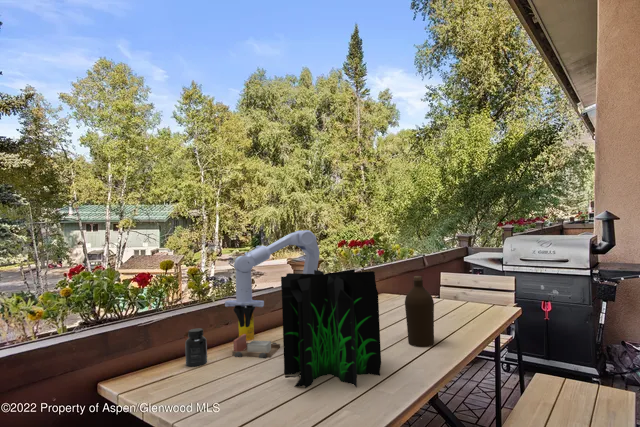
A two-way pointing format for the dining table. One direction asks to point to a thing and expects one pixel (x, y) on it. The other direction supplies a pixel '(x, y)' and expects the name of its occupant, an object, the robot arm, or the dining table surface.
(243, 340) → the tailgate
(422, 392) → the dining table surface
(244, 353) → the wagon bed
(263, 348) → the block
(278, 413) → the dining table surface
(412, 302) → the olive oil
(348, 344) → the decorative plant
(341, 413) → the dining table surface
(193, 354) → the supplement bottle
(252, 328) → the yellow bottle
